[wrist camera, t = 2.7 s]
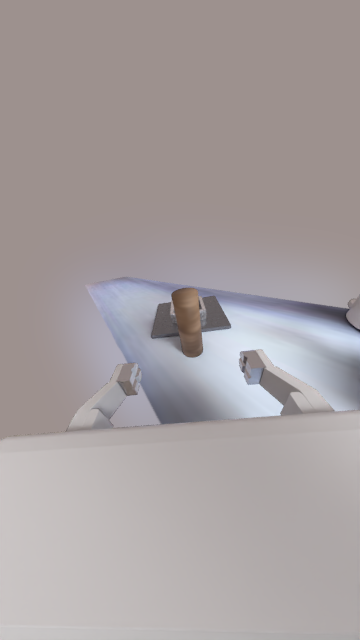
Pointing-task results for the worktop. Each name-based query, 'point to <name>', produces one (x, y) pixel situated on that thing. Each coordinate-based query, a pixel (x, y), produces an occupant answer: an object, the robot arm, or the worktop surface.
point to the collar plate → (209, 318)
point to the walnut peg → (188, 320)
